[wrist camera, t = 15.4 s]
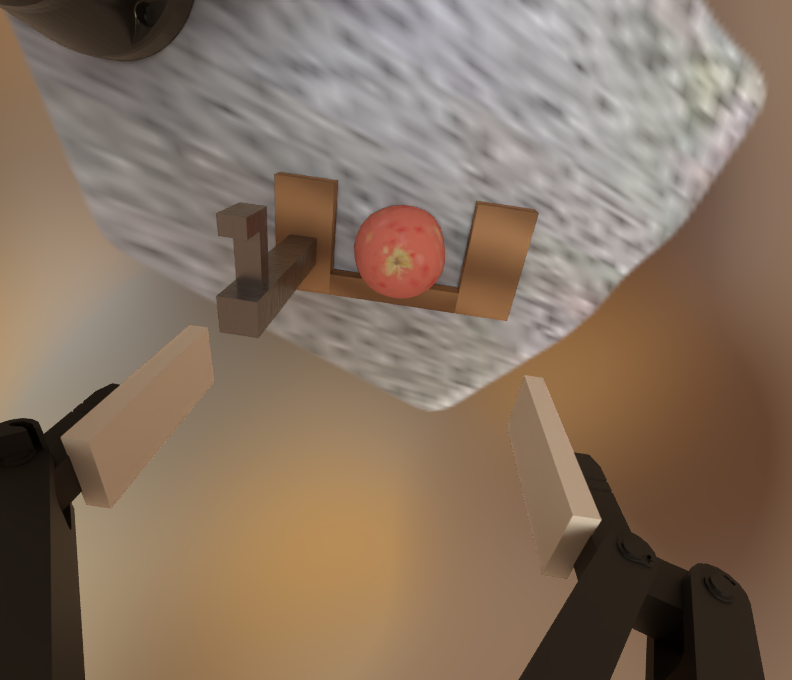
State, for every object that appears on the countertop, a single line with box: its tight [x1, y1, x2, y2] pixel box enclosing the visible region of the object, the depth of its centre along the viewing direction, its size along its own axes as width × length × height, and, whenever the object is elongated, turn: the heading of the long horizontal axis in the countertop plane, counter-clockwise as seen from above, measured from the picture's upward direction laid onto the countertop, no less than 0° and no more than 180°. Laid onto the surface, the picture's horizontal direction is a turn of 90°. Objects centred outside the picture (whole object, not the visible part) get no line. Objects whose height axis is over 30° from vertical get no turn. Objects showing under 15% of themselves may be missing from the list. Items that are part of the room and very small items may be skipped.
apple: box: [354, 205, 445, 299], centre depth 33 cm, size 7×7×8 cm
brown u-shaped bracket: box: [274, 172, 539, 321], centre depth 36 cm, size 10×22×2 cm, turn 83°
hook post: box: [216, 203, 317, 338], centre depth 29 cm, size 7×2×14 cm, turn 173°
